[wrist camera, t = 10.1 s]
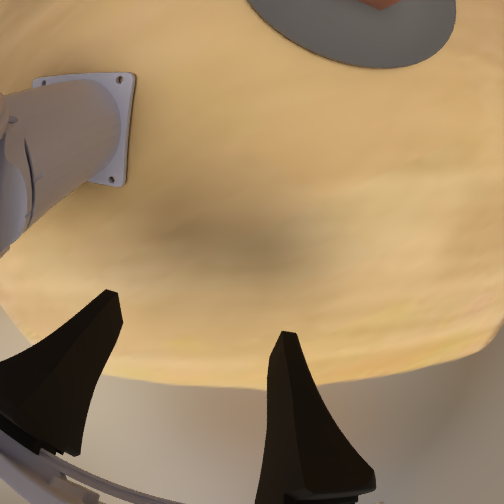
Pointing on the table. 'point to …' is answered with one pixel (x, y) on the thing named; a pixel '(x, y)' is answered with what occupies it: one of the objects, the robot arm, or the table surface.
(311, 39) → the plate
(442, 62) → the table surface
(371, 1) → the block
